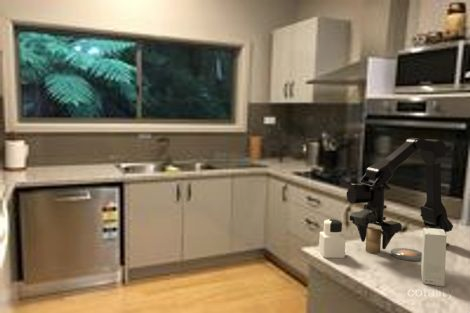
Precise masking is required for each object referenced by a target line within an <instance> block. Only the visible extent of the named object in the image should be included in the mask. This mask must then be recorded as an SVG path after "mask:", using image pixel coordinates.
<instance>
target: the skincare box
mask: <svg viewBox="0 0 470 313" xmlns="http://www.w3.org/2000/svg"><path fill="white" fill-rule="evenodd" d="M447 236H448V235H447V232H446V233H445V231H444V230H443V229H433V228H429V227H423V228H422V243H421V244H422V245H421V252H422V261H420V262H421V265H420V266H421V267H420V268H421V269H420V275H421V280H422V284H424V285H425V284H426V285H431V286H437V287H441V288H442V287H443V288H444V287H445V279H446V257H447V254H446V253H447V246H446V243H447Z"/></svg>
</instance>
